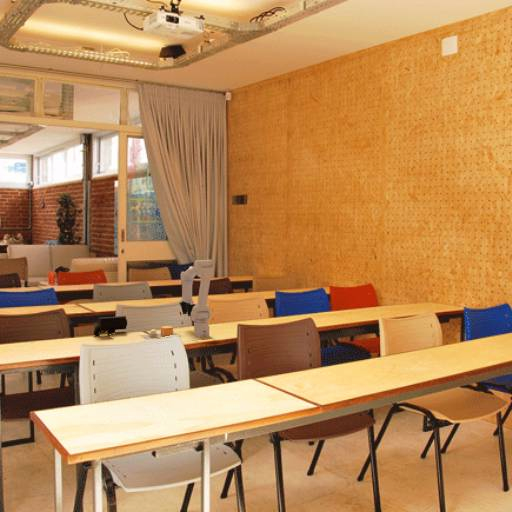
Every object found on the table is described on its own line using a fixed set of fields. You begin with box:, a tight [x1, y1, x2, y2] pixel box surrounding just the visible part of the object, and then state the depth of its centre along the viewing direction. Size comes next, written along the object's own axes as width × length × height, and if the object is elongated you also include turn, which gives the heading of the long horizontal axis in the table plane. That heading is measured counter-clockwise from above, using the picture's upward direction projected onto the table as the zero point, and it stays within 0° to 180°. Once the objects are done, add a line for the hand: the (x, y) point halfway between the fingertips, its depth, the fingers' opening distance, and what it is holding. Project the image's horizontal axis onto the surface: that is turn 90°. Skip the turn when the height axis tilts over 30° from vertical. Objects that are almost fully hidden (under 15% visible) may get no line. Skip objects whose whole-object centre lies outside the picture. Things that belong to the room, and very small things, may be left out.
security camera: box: [93, 315, 128, 337], centre depth 362 cm, size 7×18×10 cm, turn 115°
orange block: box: [160, 325, 174, 336], centre depth 356 cm, size 5×5×4 cm
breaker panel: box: [139, 331, 181, 340], centre depth 355 cm, size 12×20×3 cm, turn 118°
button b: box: [149, 329, 157, 334], centre depth 353 cm, size 2×2×2 cm
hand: (187, 315), depth 374 cm, fingers open, 7 cm apart
